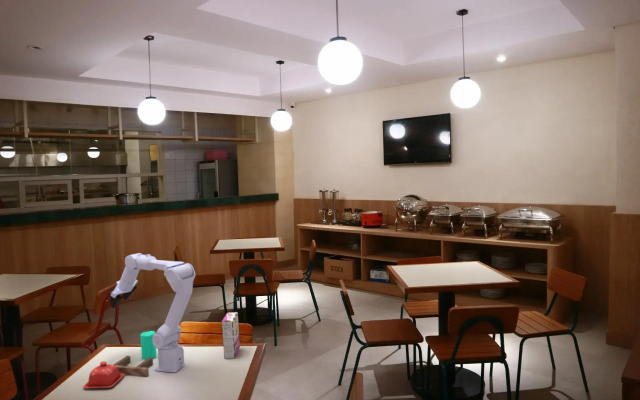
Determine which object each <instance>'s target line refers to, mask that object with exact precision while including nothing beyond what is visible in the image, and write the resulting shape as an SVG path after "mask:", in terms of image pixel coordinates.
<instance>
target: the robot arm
mask: <svg viewBox="0 0 640 400" xmlns="http://www.w3.org/2000/svg"><path fill="white" fill-rule="evenodd" d="M124 264H125V267H124V269H123V272H122V274H121V277H120V279H119V280H118V281H116V286H115V288H114V289H112V290H110V291H109V293H108V295H109V298H110V304H109V305H110V307H111V308H113V309H115V308H117V306H118V304H119V303H120V301H122V299H123V300H125V301H127V300H128V299H129V297H130V296H131V295H132V294H133V293H134V292H135V291H136V290H138V286H136V285H137V284H138V281H139V280H138V279H137V277H138V275H139V272H140V270H145V271H153V270H160V271H164V273H163V276H164V277H165V279H166V280H167V282H168V284H169V285H170V288H171V289H172V291H173V292H175V296H174V298H173V300H172V303H171V306H170V308H169V311H168V313H167V316H166V319H165V321H164V323H163V324H162V325H161V326H160V327H159V328H158V329H157V331H155V334H154V335H153V344H154V346H155V347H156V350H157V356H158V366H157V367H156V368H154V371H155V372H168V373H176V372H178V371H179V370H180V369H182V367H184V366H185V365H186V362H185V352H184V347H182V346H180V345H178V344H179V340H180V339H181V332H182V327H181V326H180V323H181V321H182V319H183V316H184V313H185V311H186V309H187V307H188V303H190V302H189V301H190V299H191V296H192V294H193V286H194V280H195V277H196V272H195V269H194V267H193V265H192V264H191V263H190V262H189V263H188V262H186V263H185V262H184V261H177V260H176V261H175V260H174V261H173V260H162V259H160V260H159V259H157V258H156V257H155V256H153V255H151V254H149V253H148V254H142V253H141V252H139V253H134V254H133V253H132V254H129V255H127V256H126V257H125V258H124Z"/></svg>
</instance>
